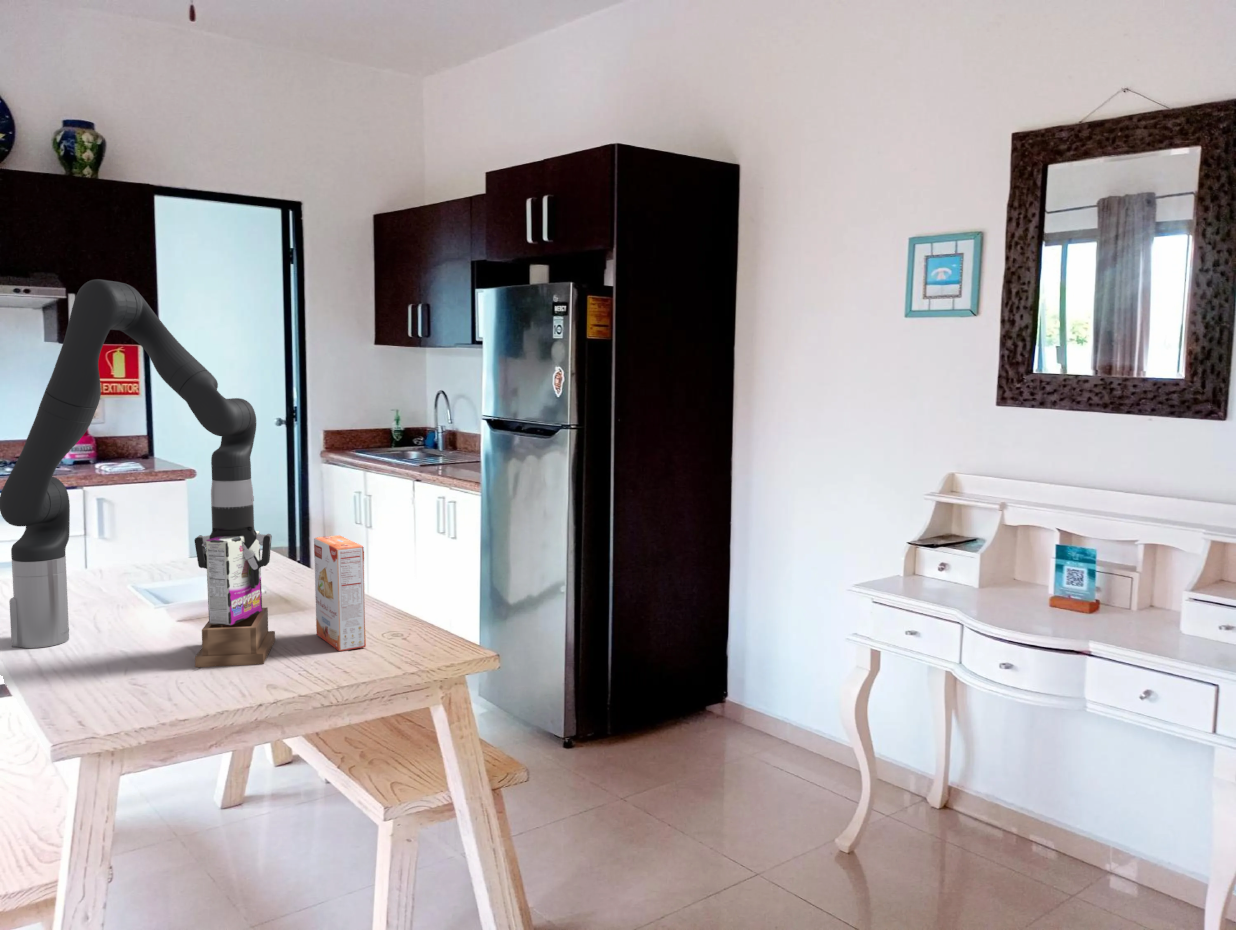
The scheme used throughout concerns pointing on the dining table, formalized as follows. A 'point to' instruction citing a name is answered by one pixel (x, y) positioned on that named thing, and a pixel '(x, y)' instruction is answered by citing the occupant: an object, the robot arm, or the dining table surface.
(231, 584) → the candy bar box
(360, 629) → the cracker box
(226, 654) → the walnut stand
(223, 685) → the dining table surface
